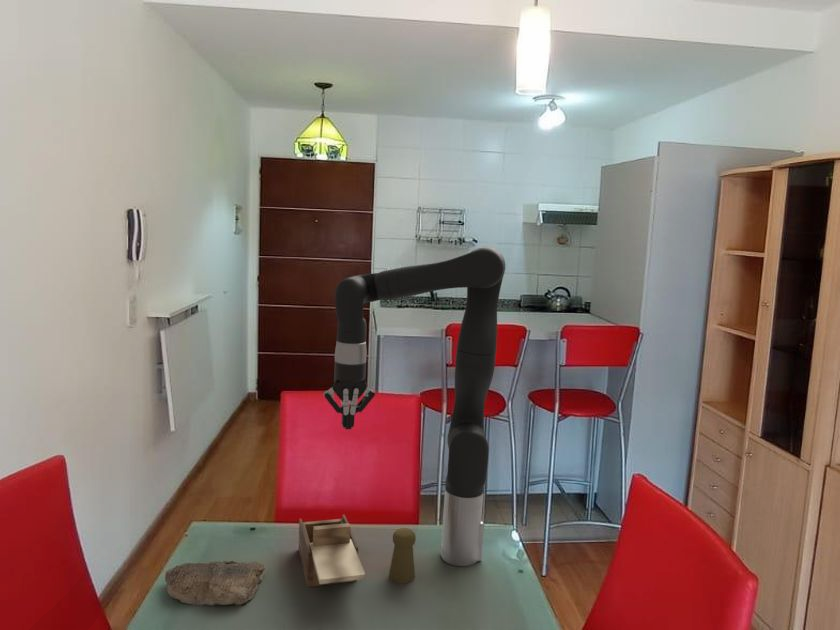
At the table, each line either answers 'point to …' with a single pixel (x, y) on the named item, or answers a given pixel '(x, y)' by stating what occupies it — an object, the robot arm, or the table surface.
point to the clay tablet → (214, 582)
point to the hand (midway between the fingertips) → (347, 428)
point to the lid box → (305, 552)
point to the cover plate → (335, 554)
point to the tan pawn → (403, 556)
